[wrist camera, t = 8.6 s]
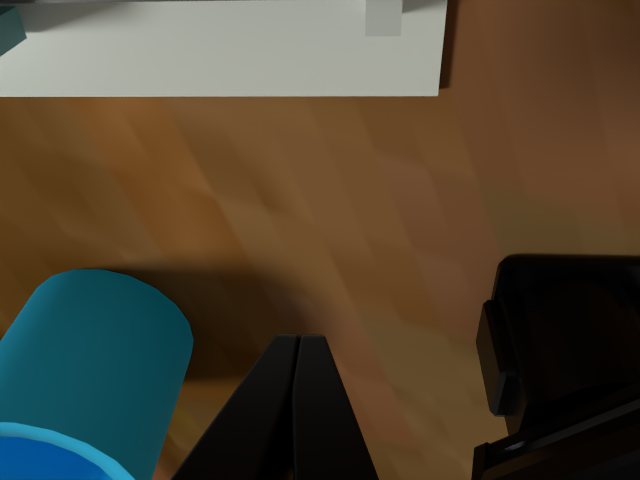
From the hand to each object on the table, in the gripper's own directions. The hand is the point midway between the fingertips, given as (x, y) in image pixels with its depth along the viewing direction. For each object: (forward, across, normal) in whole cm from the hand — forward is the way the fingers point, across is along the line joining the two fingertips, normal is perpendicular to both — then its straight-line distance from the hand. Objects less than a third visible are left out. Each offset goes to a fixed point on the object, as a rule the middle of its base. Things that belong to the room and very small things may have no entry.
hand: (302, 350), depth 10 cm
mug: (+13, +13, +14) cm, 23 cm away
